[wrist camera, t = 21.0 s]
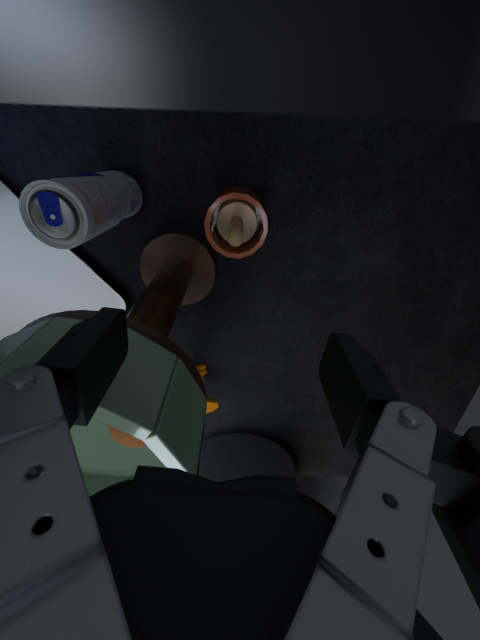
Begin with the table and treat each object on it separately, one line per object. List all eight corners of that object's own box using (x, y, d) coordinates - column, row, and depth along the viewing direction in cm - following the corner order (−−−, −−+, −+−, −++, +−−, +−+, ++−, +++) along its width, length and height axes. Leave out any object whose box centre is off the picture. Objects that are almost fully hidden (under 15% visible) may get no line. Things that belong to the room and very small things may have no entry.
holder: (213, 182, 34) (206, 188, 28) (267, 189, 34) (273, 197, 28) (209, 236, 37) (202, 254, 31) (259, 243, 38) (263, 261, 31)
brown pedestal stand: (129, 214, 36) (-43, 305, 14) (230, 227, 37) (212, 332, 15) (135, 304, 42) (21, 463, 20) (221, 314, 43) (199, 477, 21)
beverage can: (97, 169, 34) (5, 179, 21) (141, 170, 34) (76, 179, 20) (106, 215, 36) (30, 250, 23) (147, 216, 36) (94, 250, 23)
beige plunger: (220, 192, 34) (210, 209, 24) (258, 197, 34) (266, 216, 24) (217, 231, 36) (207, 262, 26) (253, 236, 37) (257, 269, 26)
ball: (177, 411, 14) (108, 402, 13) (161, 463, 14) (94, 459, 13) (174, 379, 16) (118, 370, 15) (161, 425, 17) (106, 419, 16)
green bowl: (-43, 305, 14) (-167, 371, 10) (212, 332, 15) (200, 405, 11) (21, 463, 20) (-38, 546, 16) (199, 477, 21) (188, 561, 17)
